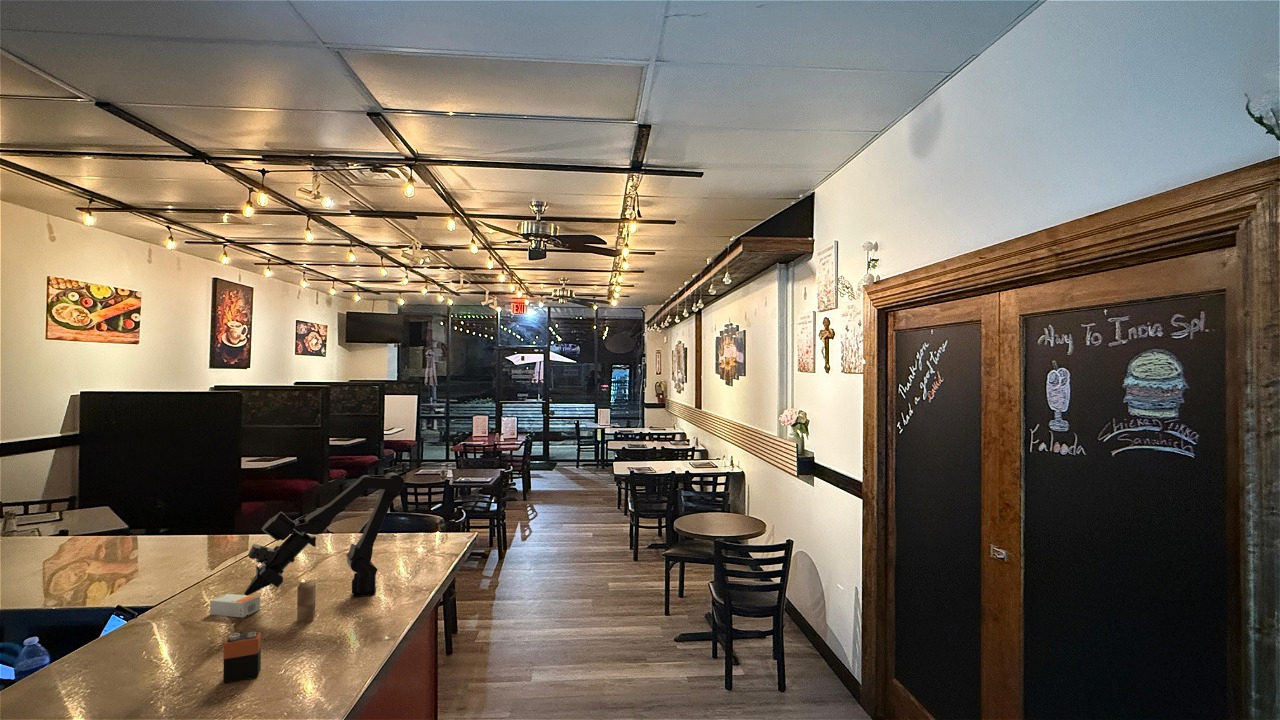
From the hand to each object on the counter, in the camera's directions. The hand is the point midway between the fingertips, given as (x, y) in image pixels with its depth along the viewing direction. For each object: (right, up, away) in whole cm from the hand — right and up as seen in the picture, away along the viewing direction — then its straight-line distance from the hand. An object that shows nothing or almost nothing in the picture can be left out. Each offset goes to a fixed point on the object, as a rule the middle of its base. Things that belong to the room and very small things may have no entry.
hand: (245, 594), depth 174 cm
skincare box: (+1, -4, +2) cm, 5 cm away
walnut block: (+19, -6, -2) cm, 20 cm away
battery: (+22, -6, -35) cm, 42 cm away
